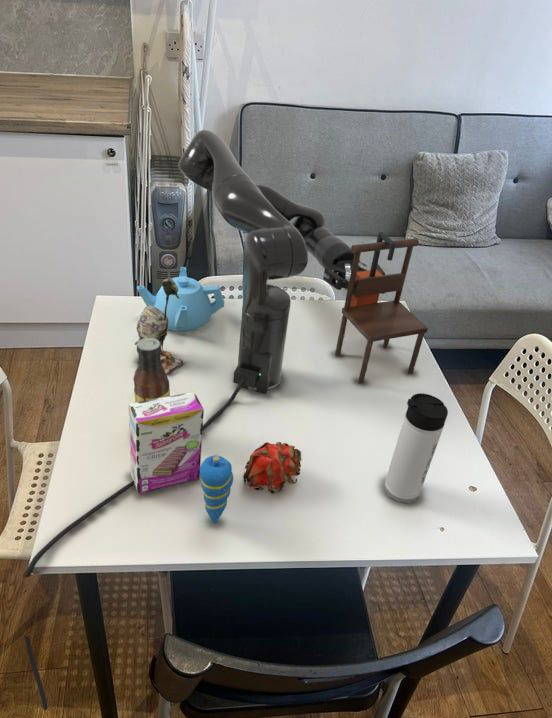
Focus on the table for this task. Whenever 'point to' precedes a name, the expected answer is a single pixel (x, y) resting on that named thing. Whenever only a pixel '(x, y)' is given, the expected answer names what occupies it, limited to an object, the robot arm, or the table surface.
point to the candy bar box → (165, 441)
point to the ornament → (216, 485)
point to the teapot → (185, 303)
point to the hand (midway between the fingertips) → (372, 291)
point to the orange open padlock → (373, 272)
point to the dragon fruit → (272, 466)
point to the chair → (380, 306)
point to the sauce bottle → (150, 372)
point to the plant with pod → (159, 326)
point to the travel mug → (415, 447)
